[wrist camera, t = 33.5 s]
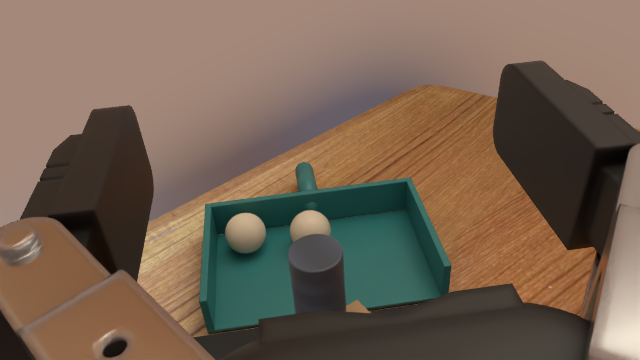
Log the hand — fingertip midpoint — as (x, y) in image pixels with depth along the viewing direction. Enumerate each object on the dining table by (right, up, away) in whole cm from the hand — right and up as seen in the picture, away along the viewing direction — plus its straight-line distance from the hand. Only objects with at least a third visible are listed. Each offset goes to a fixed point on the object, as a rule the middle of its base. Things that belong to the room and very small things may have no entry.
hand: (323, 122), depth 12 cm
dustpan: (0, -6, +33) cm, 34 cm away
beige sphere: (-1, -5, +31) cm, 32 cm away
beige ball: (-6, -5, +31) cm, 32 cm away
